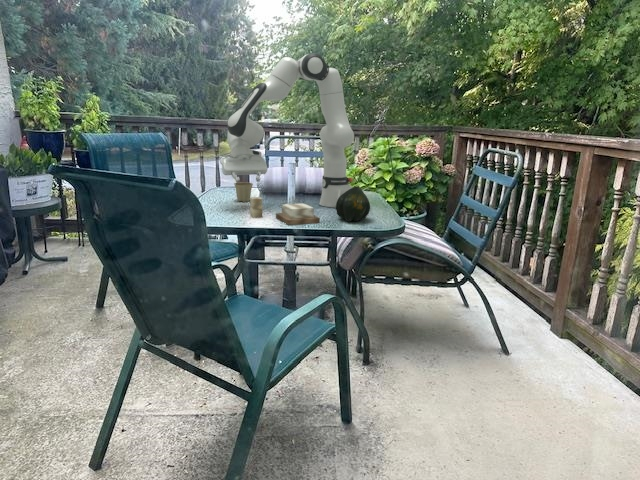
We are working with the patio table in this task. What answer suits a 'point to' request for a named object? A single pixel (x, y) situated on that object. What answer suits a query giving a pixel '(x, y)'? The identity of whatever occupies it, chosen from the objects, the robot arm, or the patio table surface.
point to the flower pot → (243, 191)
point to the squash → (353, 205)
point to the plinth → (297, 221)
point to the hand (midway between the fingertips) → (248, 181)
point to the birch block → (256, 207)
